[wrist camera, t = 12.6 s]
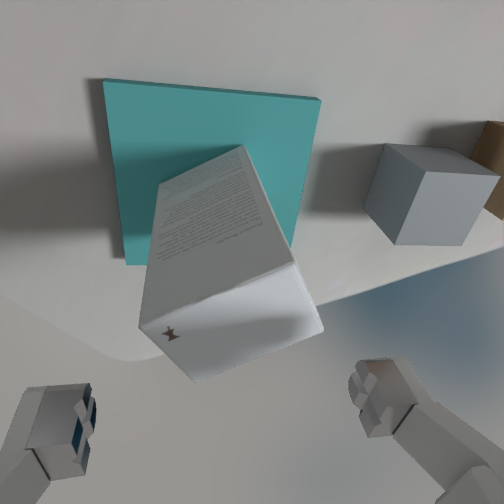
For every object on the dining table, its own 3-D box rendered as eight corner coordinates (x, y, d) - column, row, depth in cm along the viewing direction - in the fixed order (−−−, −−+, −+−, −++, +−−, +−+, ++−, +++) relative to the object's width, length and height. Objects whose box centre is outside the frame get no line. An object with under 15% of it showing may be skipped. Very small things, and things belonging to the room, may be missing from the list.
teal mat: (128, 256, 25) (126, 265, 24) (106, 78, 18) (102, 81, 18) (284, 256, 27) (287, 264, 27) (316, 97, 21) (321, 100, 20)
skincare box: (190, 233, 24) (191, 388, 14) (157, 182, 21) (130, 328, 12) (270, 197, 23) (328, 335, 13) (245, 140, 21) (295, 258, 11)
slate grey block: (362, 208, 26) (394, 245, 22) (384, 142, 23) (426, 171, 19) (420, 210, 27) (461, 246, 23) (448, 148, 24) (500, 176, 20)
